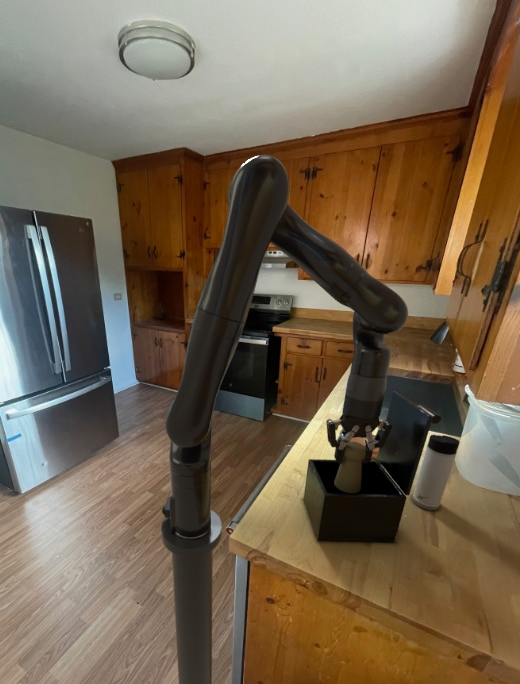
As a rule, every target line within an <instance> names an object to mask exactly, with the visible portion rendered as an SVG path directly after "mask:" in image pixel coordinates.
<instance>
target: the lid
mask: <svg viewBox="0 0 520 684" xmlns="http://www.w3.org/2000/svg"><path fill="white" fill-rule="evenodd" d="M385 420H387V421H388V422H389V423H390V424H391V425H392V429H391V431H390V433H389V435H388V437H387V440H386V442H385V444H384V446H383V447H382V448H379V451H378V455H377V460H378V461H379V463H380V464H381V466H382V467H383V468H384V469H385V471H386V472H387V473H388V474H389V476H390V477H391V478H392V479H393V481H394V482H395V483H396V484H397V486H398V487H399V488H400V489H401V491H402V492H403V493H404V494H405V496H410V494H411V491H412V488H413V484H414V481H415V479H416V475H417V471H418V468H419V465H420V462H421V458H422V455H423V452H424V449H425V445H426V442H427V438H428V435H429V433H430V429H431V425H432V424H433V425H436V424H439V423H440V422H441V421H442V417H441V415H439V414H438V413H436V412H435V411H434V410H432V409H431V408H429V407H428V406H426V405H425V404H423V403H420V404H418V405H417V403H415V402H413V401H412V400H411V399H409V398H407V397H406V396H405V395H404V394H403V393H401V392H399V391H398V390H393V391H392V395H391V399H390V402H389V407H388V411H387V415H386V419H385Z"/></svg>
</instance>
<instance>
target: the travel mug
mask: <svg viewBox="0 0 520 684" xmlns="http://www.w3.org/2000/svg"><path fill="white" fill-rule="evenodd" d="M460 443H461V442H460V440H458V439H457V438H456V437H453V436H450V435H444V434H443V435H438V434H431V435H429V439H428V442H427V445H426V449H425V452H424V456H423V459H422V463H421V466H420V471H419V473H418V477H417V480H416V483H415V488H414V491H413V495H412V501H413V503H414V504H415V505H417V506H418V507H419V508H422V509H425V510H428V511H436V510H438V509H439V508H440V506H441V503H442V500H443V496H444V493H445V490H446V487H447V484H448V481H449V478H450V475H451V472H452V469H453V467H454V462H455V459H456V456H457V452H458V449H459V446H460Z"/></svg>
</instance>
